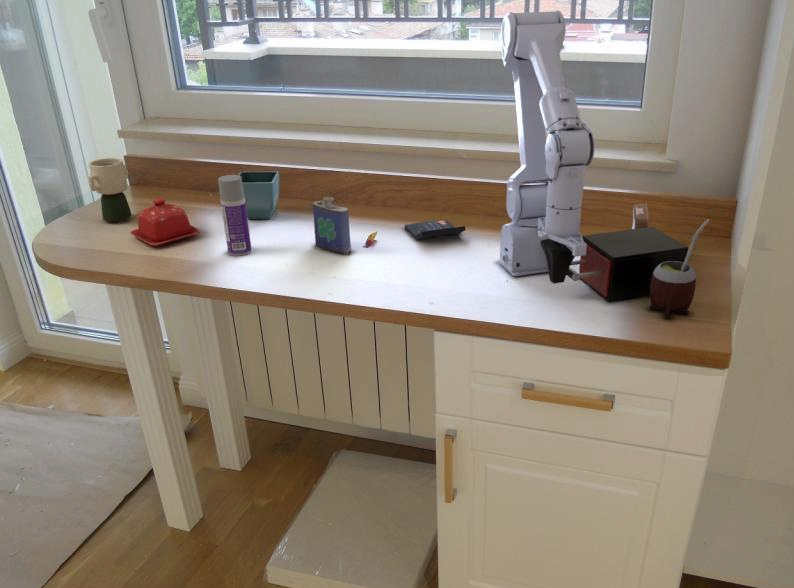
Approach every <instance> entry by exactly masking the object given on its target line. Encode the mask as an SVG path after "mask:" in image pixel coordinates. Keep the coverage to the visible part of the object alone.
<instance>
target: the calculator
mask: <svg viewBox="0 0 794 588" xmlns="http://www.w3.org/2000/svg"><path fill="white" fill-rule="evenodd" d="M404 229H405V230H406V232H407V233H408V234H410V235H411V237H412V238H413V239H414V240H415V241H417V240H427V239H432V238H440V237H447V236H454V235H459V234H461V233H463V232H465V231H466V226H465V225H463V226H454V225H453V224H452V223H451V222H450V221H449V220H447V219H439V220H438V219H437V220H430V221H423V222H416V223H407V224H404Z"/></svg>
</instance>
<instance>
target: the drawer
mask: <svg viewBox="0 0 794 588" xmlns="http://www.w3.org/2000/svg"><path fill="white" fill-rule="evenodd" d="M584 242H585V243H586V244H587V248H586V255H585V256H579V259H578V260H573V261H572V263H571V265H570V267H569V269H568V270H567V272H566V277H568V278H569V279H570V280H571V281H573V282H578V281H579V280H580V279H579V278H582V279H583V280H584V281H586V282H587V283H588V284H589V285H591V286H592V287H593V288H594V289H596V290H597V291H598V292H600V293H601V294H602V295H603V296H605V297H608V290H609V281H610V271H611V262H612V260H611V259H610V258H608V257H607V256H606V255H604V254H603V253H601V252H600V251H599V250H597V249H596V248H594V247H593V246H592V245H590V244H589V243H587V242H586V241H584ZM577 265H579V269H578V272H576V271H575V270H574V269H573V268H572V267H571V266H577Z"/></svg>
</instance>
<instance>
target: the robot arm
mask: <svg viewBox="0 0 794 588" xmlns="http://www.w3.org/2000/svg"><path fill="white" fill-rule="evenodd" d="M565 37H566V20H565V17H564V15H563V14H562V12H561V11H560V10H559V9H555V10H551V11H533V12H532V11H531V12H512V11H509V12H507V13H506V15H505V16H504V17H503V19H502V23H501V30H500V43H501V44H500V45H501V56H502V61H503V67H504V68H505V69H506V70H509V71H510V72H512V78H513V79H512V80H513V84H514V85H513V86H514V98H515V110H516V111H515V112H516V123H517V134H518V147H519V159H520V167H519V168H518V170H516V171H515V172H514V173H513V174H512V175H511V176H510V177H509V178H508V180H507V183H506V198H505V199H506V200H505V201H506V203H505V205H506V211H507V215H508V217H509V218H510V220H511V222H509V223H505V224H503V225H502V227H501V230H500V245H499V246H500V247H499V259H498V261H497V262H498V263H499V264H500V265H501V266H502V267H503V268H504V269H505V270H506V271H507V272H508V273H509V274H510V275H512V276H513V277H522V276H528V275H536V274H541V273H542V274H543V273H548V278H549V281H550V283H552V284H561V283H564V282H565V280H566V277H567V275H566V272H567V270H568V269H569V267H570V268H571V266H572V265H571V263H572V261H574V259H575V258H577V257H581V256H585V255H586V248H587V244H586V243H585V242H584V241H583V238H582V236H583V235H582V233H581V230H580V224H581V216H582V207H583V205H582V204H583V197H584V188H585V187H584V186H585V177H586V168H587V167H588V166H589V165H591V163H592V162H593V159H594V155H595V139H594V133H593V131H592V129H591V128H590V127H588V126H587V123H585V122H583V121H582V118H581V114H580V111H579V108H578V107H579V106H578V104H577V101H576V96H575V93H574V92H573V91H572V89H570V88H567V87H566V84H565V78H564V72H563V66H562V60H561V52H562V48H563V45H564V42H565ZM586 166H587V167H586ZM570 265H571V266H570Z"/></svg>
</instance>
